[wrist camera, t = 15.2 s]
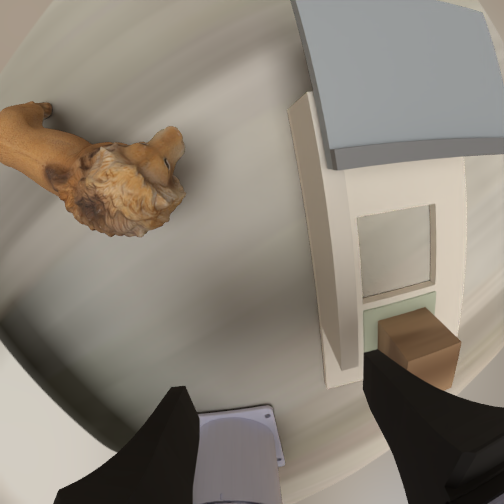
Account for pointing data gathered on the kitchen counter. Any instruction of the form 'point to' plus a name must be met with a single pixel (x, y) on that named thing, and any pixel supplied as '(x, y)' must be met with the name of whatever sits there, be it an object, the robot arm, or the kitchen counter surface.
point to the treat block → (421, 346)
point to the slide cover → (401, 80)
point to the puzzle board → (347, 242)
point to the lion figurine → (96, 171)
